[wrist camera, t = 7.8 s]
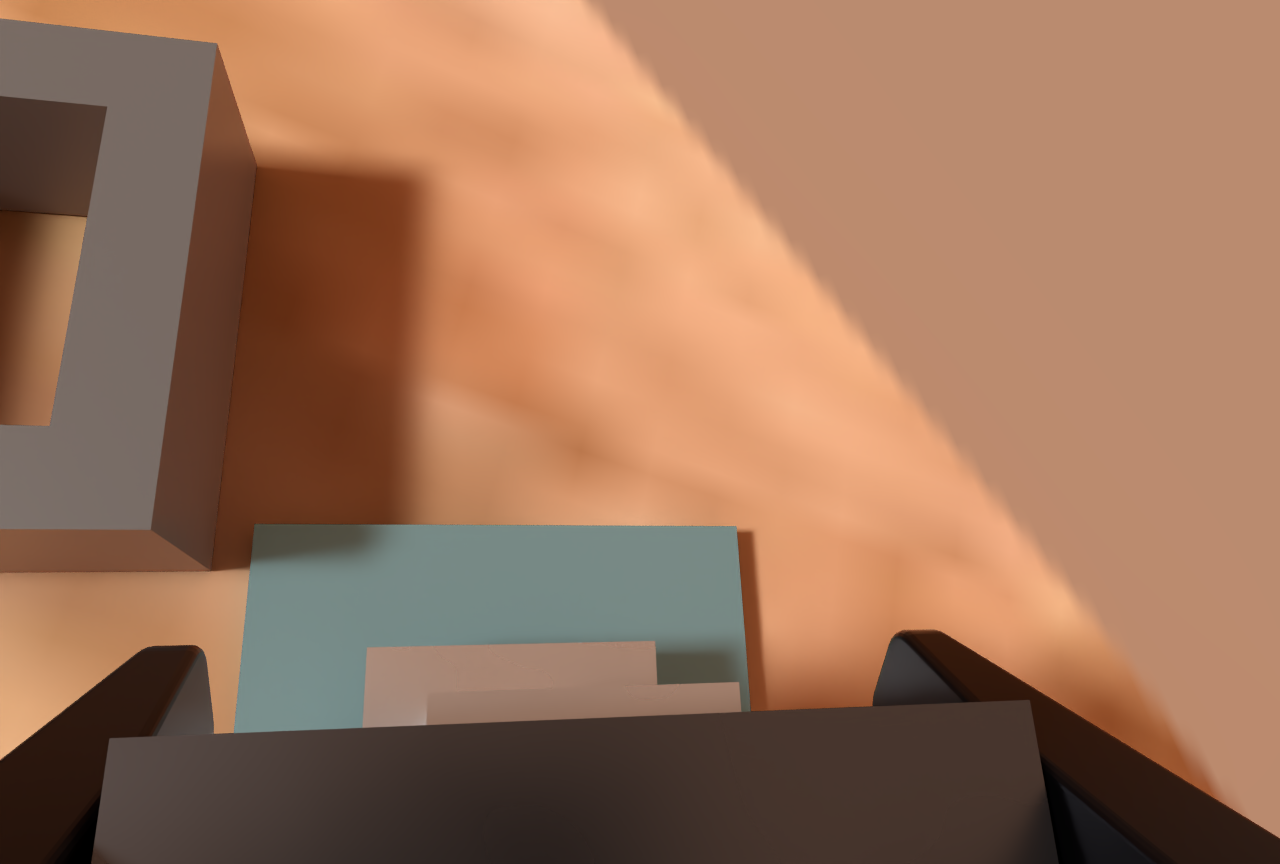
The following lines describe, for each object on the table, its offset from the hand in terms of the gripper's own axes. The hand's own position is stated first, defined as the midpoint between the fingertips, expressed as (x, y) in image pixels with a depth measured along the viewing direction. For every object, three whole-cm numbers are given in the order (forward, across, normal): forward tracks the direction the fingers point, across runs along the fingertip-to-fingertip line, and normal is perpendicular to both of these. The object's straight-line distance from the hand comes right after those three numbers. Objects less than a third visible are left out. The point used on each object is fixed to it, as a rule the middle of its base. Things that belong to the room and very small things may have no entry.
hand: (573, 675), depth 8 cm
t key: (+4, 0, +6) cm, 7 cm away
